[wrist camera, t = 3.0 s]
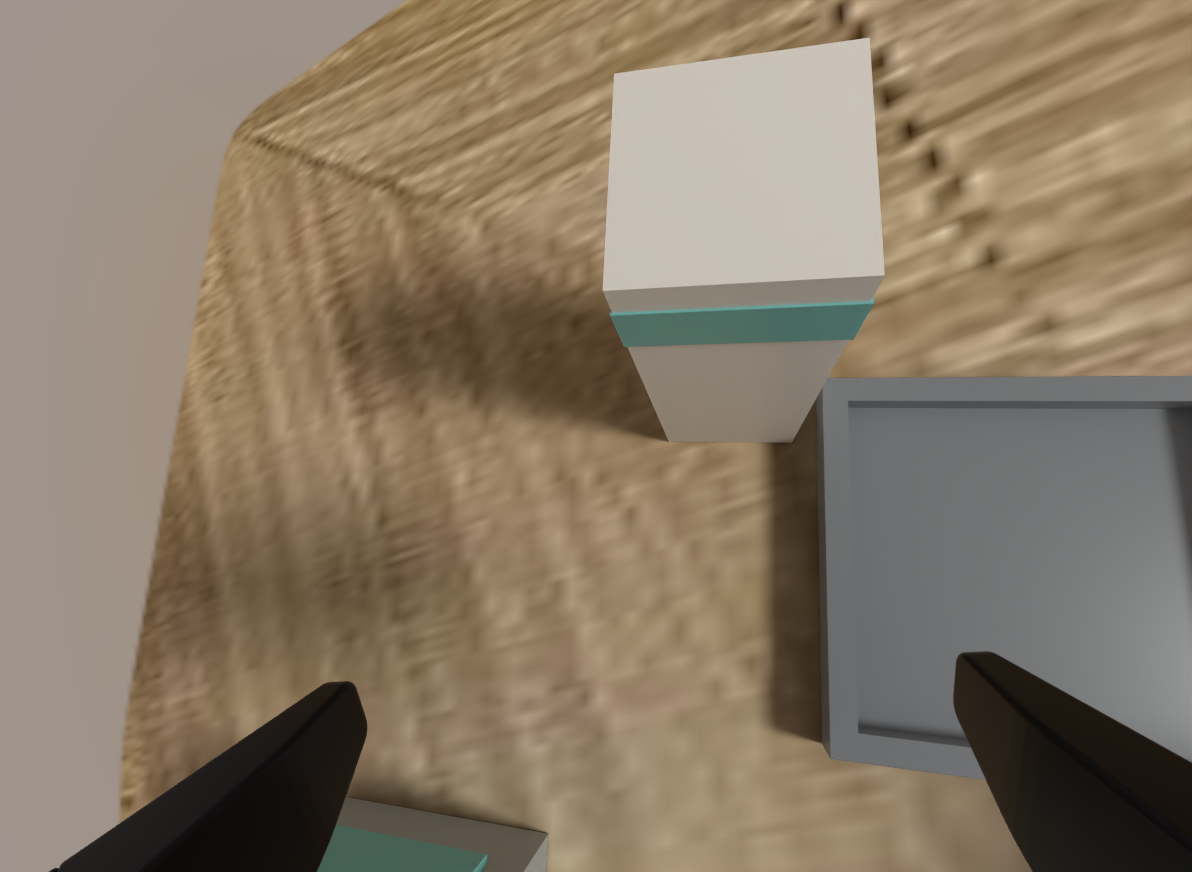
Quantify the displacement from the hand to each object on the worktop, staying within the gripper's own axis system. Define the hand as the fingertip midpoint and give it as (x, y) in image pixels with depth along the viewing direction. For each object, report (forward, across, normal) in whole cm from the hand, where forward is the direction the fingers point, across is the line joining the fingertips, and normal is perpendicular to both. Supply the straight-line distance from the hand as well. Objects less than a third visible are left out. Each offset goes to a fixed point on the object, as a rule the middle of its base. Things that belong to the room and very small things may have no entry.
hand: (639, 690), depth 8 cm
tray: (+10, -12, +5) cm, 16 cm away
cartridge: (+15, -3, -1) cm, 15 cm away
